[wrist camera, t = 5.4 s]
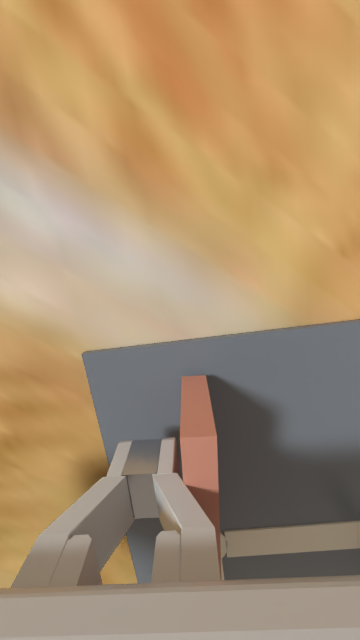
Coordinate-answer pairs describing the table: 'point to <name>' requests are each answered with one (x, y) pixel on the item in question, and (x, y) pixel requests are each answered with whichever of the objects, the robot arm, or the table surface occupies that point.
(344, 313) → the table surface
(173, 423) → the card
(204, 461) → the fence panel
